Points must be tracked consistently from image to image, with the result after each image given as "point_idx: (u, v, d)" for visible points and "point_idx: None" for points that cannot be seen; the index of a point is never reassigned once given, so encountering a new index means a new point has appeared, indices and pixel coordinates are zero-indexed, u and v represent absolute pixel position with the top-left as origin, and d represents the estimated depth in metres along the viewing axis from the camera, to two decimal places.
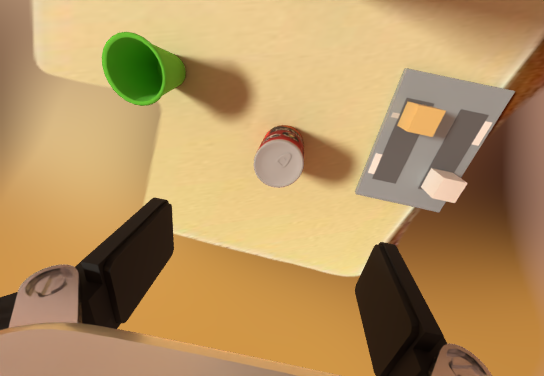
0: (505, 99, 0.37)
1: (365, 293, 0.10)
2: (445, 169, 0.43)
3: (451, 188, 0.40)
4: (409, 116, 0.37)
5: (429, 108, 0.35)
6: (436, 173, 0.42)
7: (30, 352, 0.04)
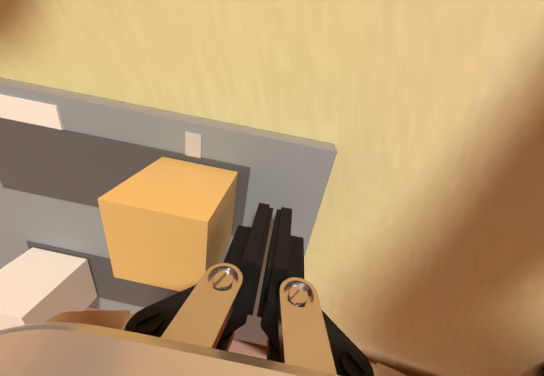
0: (260, 339, 0.19)
1: (268, 253, 0.11)
2: (98, 283, 0.18)
3: None
4: (173, 192, 0.09)
5: (202, 254, 0.09)
6: (57, 282, 0.15)
7: (30, 352, 0.04)
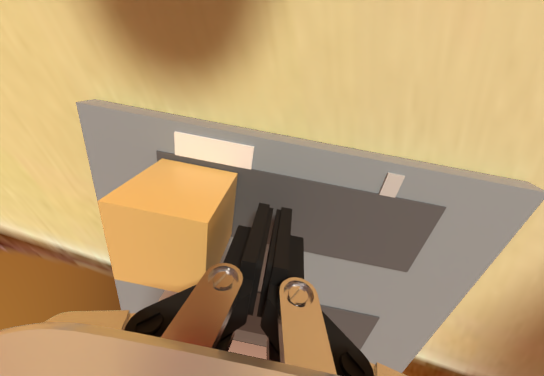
0: None
1: None
2: None
3: None
4: (173, 194, 0.09)
5: (202, 255, 0.09)
6: None
7: (30, 352, 0.04)
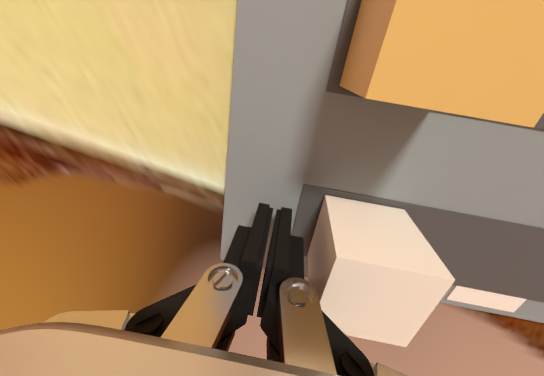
0: None
1: (268, 253, 0.11)
2: None
3: (386, 310, 0.09)
4: None
5: None
6: (418, 234, 0.10)
7: (30, 352, 0.04)
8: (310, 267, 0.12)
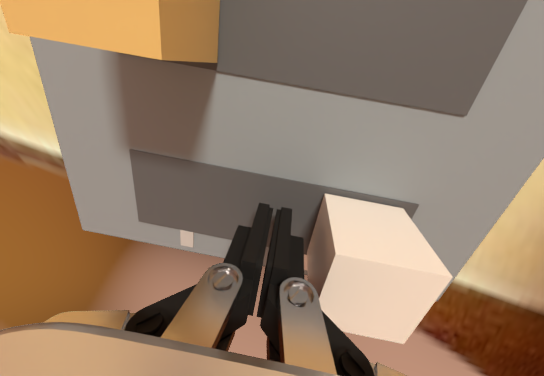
0: None
1: (268, 253, 0.11)
2: (216, 212, 0.13)
3: (384, 307, 0.09)
4: None
5: None
6: (416, 233, 0.10)
7: (30, 352, 0.04)
8: (309, 265, 0.12)
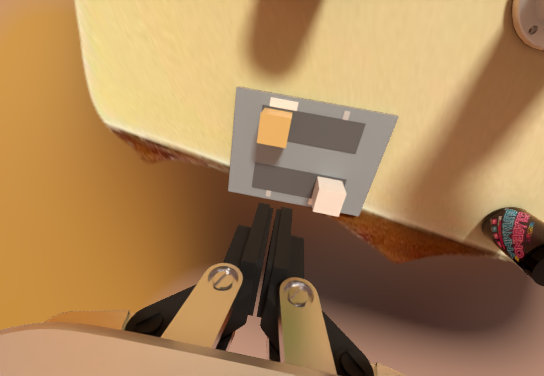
0: (351, 211, 0.40)
1: (268, 253, 0.11)
2: (280, 183, 0.39)
3: (332, 204, 0.35)
4: (277, 114, 0.31)
5: (287, 130, 0.31)
6: (342, 186, 0.36)
7: (30, 352, 0.04)
8: (312, 199, 0.38)
